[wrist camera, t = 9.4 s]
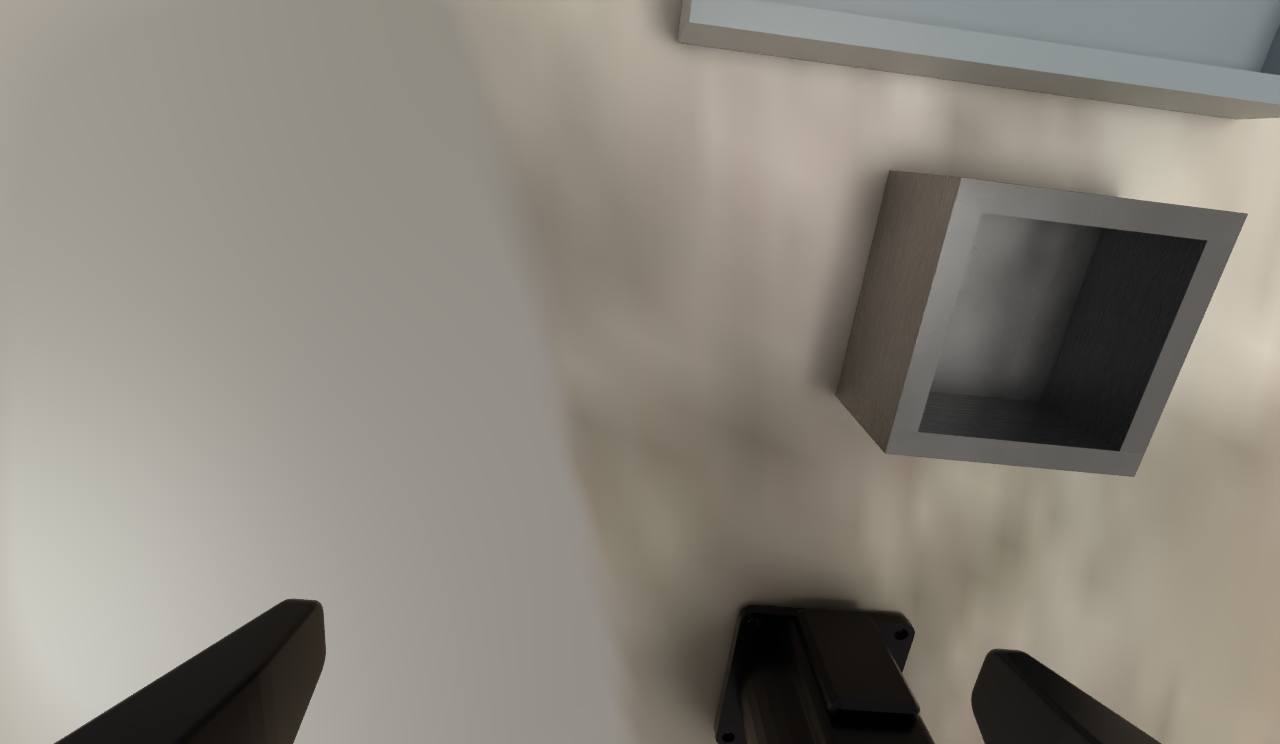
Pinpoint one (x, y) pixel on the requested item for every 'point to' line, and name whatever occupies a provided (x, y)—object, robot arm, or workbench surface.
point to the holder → (1027, 321)
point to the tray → (1028, 45)
